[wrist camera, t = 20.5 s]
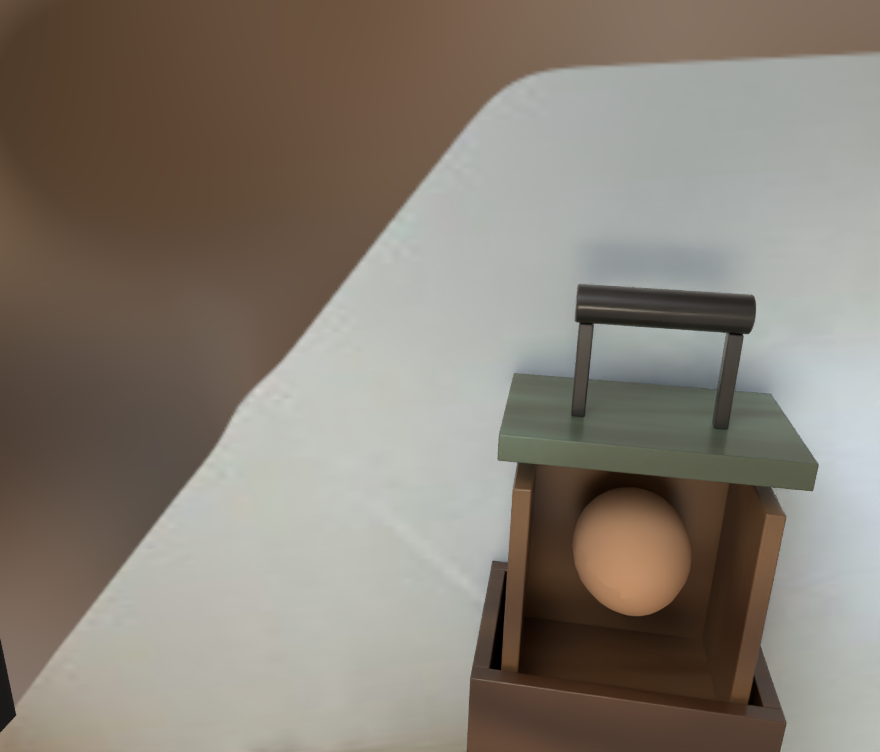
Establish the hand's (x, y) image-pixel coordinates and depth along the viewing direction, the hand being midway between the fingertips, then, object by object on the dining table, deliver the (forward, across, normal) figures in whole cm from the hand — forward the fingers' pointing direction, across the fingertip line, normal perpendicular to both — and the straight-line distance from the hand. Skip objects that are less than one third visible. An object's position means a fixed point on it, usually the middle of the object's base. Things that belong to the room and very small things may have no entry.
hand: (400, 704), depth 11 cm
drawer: (+28, +6, -9) cm, 30 cm away
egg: (+27, +6, -11) cm, 30 cm away
